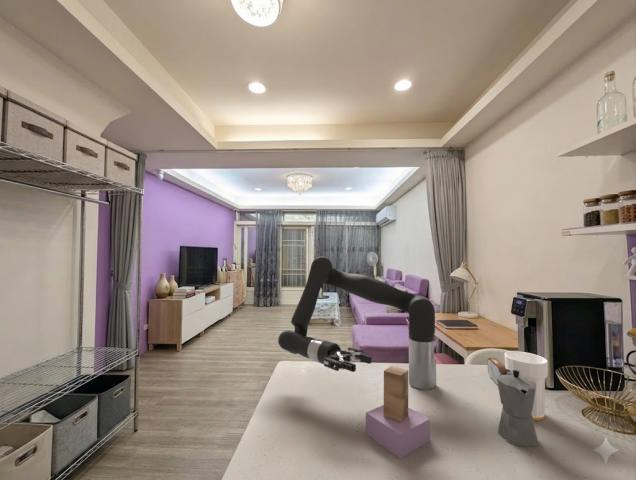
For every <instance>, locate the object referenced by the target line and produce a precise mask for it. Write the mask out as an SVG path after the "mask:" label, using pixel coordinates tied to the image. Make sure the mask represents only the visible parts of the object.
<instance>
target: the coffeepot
mask: <svg viewBox="0 0 636 480" xmlns="http://www.w3.org/2000/svg"><path fill="white" fill-rule="evenodd" d="M497 382H498V385H497V387H498V393H499V397H500V399H499V400H500V404H501V405H502V409H501V413H500V414H501V415H500V418H499V419H500V420H499V426H498V429H497V432H498V434H499V436H500V435H501V436H502V437H503V438H502V437H501V436H500V437H501V438H502V439H504V440H505V439H506V440H507V441H506V440H505V441H506V442H508V441H509V442H508V443H510V442H511V443H510V444H512V443H513V444H512V445H515V446H517V445H518V446H517V447H521V446H522V448H534V447H537V445H538V437H537V436H538V435H537V431H536V428H535V427H536V426H535V420H533V416H532V410H533V404H534V397H535V390H536V384H535V383H534V382H532V381H530V380H528V379H526V378H523V377H519V371H517V370H513V372H511V371H510V370H508V369H507V370H505V372H504V375H499V376H498V378H497Z"/></svg>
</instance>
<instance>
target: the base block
mask: <svg viewBox="0 0 636 480" xmlns="http://www.w3.org/2000/svg"><path fill="white" fill-rule="evenodd" d="M430 420H431V419H430V418H429V417H427V416H425V415H424V414H422V413H420V412H418V411H416V410H414V409H412V408H410V407H408V416H407V417H406V418H405V419H404V420H403V421H402V422H399V421H396V420H393V419H391V418H388V417H385V416H384V404H382V405H380V406H378V407H376V408H372V409H371V410H369V411H366V412H365V434H366V435H367V436H369V437H370V438H371V439H374V440H375V442H377V443H379V445H381V446H383V447H384V448H385V449H387V450H388V451H389V452H391V453H392V454H394V455H395V456H396V457H398V458H399V459H403V458H404V457H405V456H408V455H409V454H410V453H412V452H414V451H416V450H417V449H419V448H420V447H422V446H424V445H425V444H427V443H429V442H430V441H431V428H430V427H431V424H430V423H431V421H430Z"/></svg>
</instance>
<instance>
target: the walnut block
mask: <svg viewBox="0 0 636 480" xmlns="http://www.w3.org/2000/svg"><path fill="white" fill-rule="evenodd" d="M383 405H384V416H385V417H388V418H391V419H393V420H396V421H399V422H402V421H403V420H404V419H405V418H406V417H407V416H408V408H409V369H405V368H402V367H398V366H393V365H390V366H389V367H387V368H386V369H384V370H383Z"/></svg>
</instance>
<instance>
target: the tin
mask: <svg viewBox="0 0 636 480" xmlns="http://www.w3.org/2000/svg"><path fill="white" fill-rule="evenodd" d="M486 363H487V364H486V365H487V372H488V375H489V377H490V379H491V380H492V381H493V383H495V385H496V386H498V382H497V378H498V376H499V375H504V372H505V370H507V369H506V368H505V364H503V363H502V362H501V361H500V360H499V359H498V358H497V357H488V358H487V359H486Z"/></svg>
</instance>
